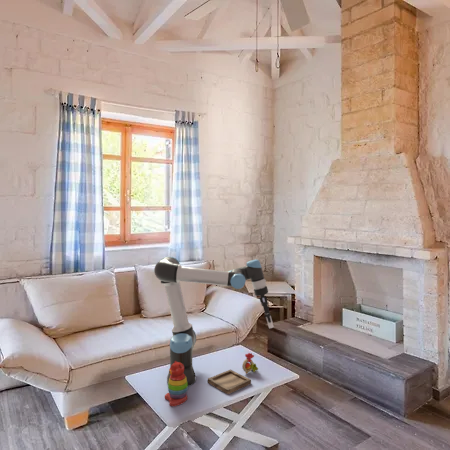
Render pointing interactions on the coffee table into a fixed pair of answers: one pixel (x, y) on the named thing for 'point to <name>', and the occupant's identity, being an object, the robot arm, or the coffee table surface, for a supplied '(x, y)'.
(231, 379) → the walnut plate
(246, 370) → the bird rattle
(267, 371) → the coffee table surface
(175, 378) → the stacking bear
